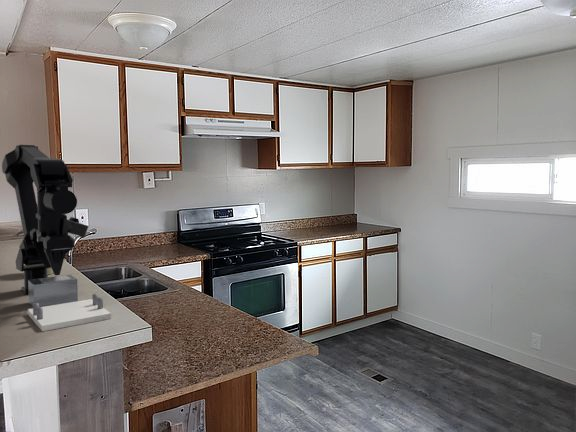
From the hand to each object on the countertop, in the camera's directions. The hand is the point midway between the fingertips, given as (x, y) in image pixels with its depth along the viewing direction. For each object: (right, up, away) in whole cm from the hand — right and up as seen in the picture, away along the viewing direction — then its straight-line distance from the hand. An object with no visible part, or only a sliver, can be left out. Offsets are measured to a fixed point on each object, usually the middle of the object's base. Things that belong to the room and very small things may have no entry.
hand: (52, 271), depth 119 cm
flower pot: (-18, -4, +30) cm, 35 cm away
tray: (+9, -9, -10) cm, 16 cm away
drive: (0, -8, +1) cm, 8 cm away
